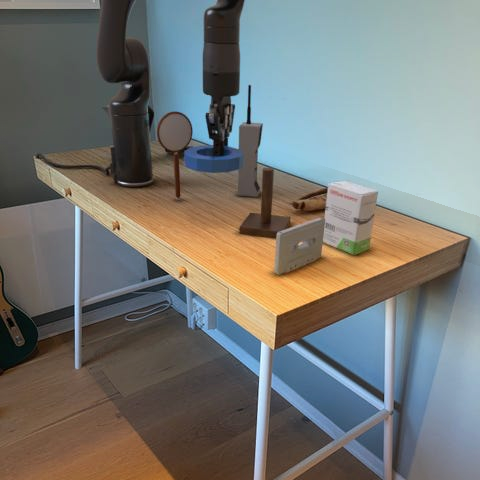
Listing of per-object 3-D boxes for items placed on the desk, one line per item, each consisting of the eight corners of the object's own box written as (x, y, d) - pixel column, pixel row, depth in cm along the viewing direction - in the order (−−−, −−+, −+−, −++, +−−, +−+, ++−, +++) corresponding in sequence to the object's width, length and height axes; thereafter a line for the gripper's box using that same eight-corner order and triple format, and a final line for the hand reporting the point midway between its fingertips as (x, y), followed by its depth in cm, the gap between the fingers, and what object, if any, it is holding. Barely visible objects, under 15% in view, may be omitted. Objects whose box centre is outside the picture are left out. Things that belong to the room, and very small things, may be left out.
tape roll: (176, 169, 101) (176, 156, 99) (196, 155, 111) (196, 143, 109) (233, 175, 98) (233, 162, 97) (248, 160, 108) (248, 148, 107)
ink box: (369, 249, 96) (380, 190, 90) (353, 256, 93) (362, 195, 87) (336, 236, 101) (344, 179, 95) (320, 241, 99) (326, 183, 93)
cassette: (279, 276, 85) (282, 235, 81) (271, 272, 86) (274, 231, 82) (323, 257, 92) (328, 218, 88) (315, 254, 93) (320, 215, 89)
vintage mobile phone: (257, 197, 121) (261, 86, 108) (237, 196, 122) (239, 85, 109) (260, 193, 125) (264, 84, 111) (240, 191, 125) (242, 83, 112)
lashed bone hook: (334, 196, 125) (276, 206, 116) (336, 177, 122) (278, 186, 114) (360, 206, 118) (301, 217, 109) (363, 186, 116) (303, 196, 107)
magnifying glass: (163, 204, 116) (157, 113, 105) (160, 202, 117) (154, 112, 106) (195, 198, 120) (193, 110, 109) (192, 196, 121) (189, 109, 110)
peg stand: (239, 233, 102) (240, 172, 95) (250, 218, 109) (251, 161, 102) (282, 238, 100) (286, 177, 93) (290, 223, 107) (294, 165, 100)
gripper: (214, 64, 105) (214, 148, 114) (191, 70, 94) (193, 162, 103) (248, 66, 104) (245, 151, 113) (229, 73, 92) (227, 166, 101)
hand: (220, 156), depth 108 cm, fingers closed on tape roll, 2 cm apart
